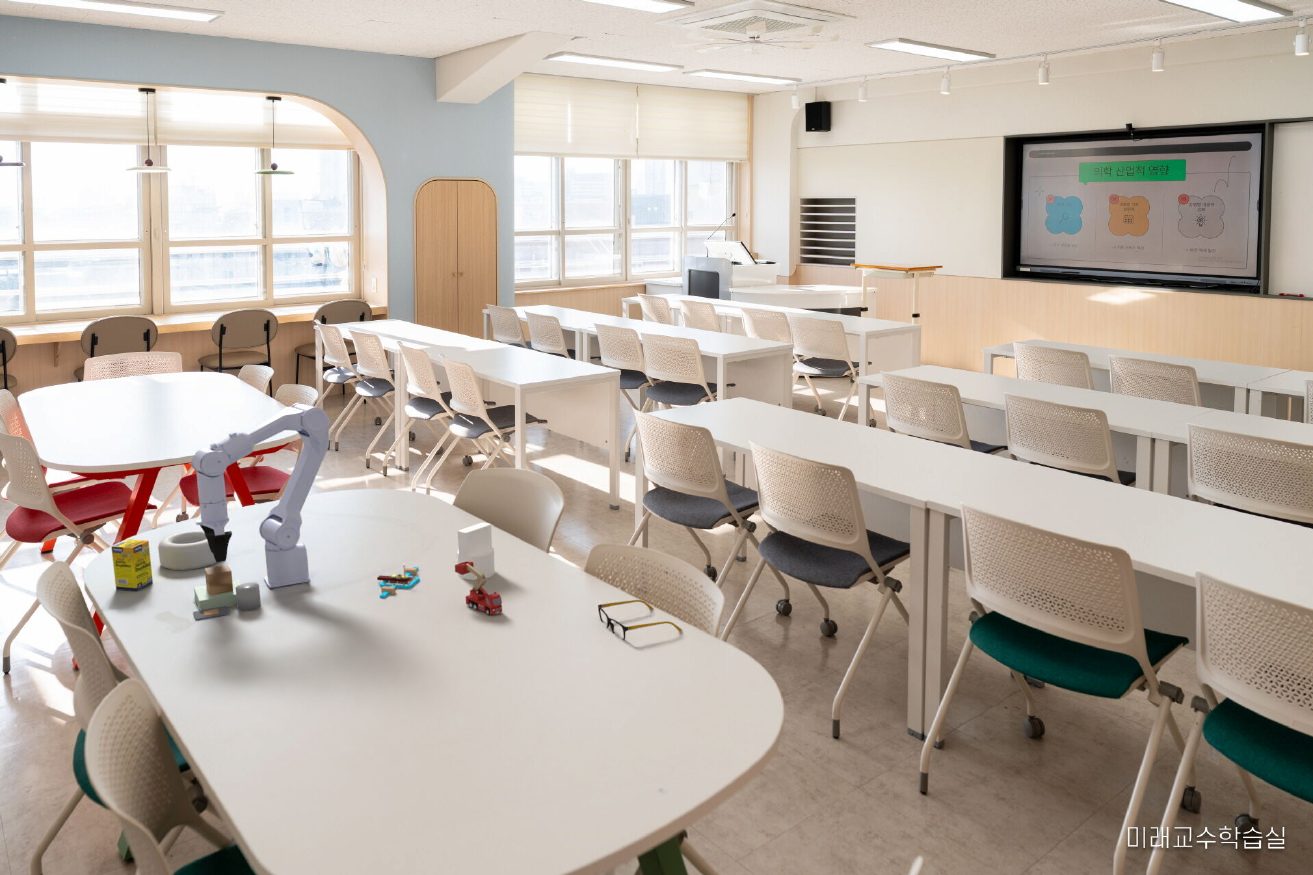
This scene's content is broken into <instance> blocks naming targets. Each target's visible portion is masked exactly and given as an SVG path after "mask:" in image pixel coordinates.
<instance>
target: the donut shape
mask: <svg viewBox="0 0 1313 875" xmlns="http://www.w3.org/2000/svg"><path fill="white" fill-rule="evenodd" d="M157 548H158V549H157V550H158V558H159V563H160V566H162V567H163V568H165V569H168V570H171V571H191V570H197V569H203V568H208V567H210V566H213V565H215V564H217V563H218V562H216V560H215V558H214V555H213V553H212V552H211V550H210V548H209V544H208V541H207V538H206V537H205V533H204V531H203V529H201V530H198V529H197V530H196V529H195V530H188V531H182V532H177V533H173V534H171V535H168V536H165V537H164V538H163V539H161V540H160V541H159V543H158V547H157Z"/></svg>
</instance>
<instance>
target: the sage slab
mask: <svg viewBox="0 0 1313 875" xmlns="http://www.w3.org/2000/svg"><path fill="white" fill-rule="evenodd" d="M232 583H233V591H232V592H226V593H221V594H215V595H210V594H209V592H208V590H207V588H206V584H205V585H200V586H194V587H193V592H194V599H195V601H196V603H197V606H198V608H199V611H201V610H207V609H212V608H218V607H224V606H227V607H231V606H237V598H236V587H237V586H238V585H241V584H242V583H241V580H240V579H237V580H232Z"/></svg>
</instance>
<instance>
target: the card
mask: <svg viewBox="0 0 1313 875" xmlns="http://www.w3.org/2000/svg"><path fill="white" fill-rule="evenodd" d="M192 613H193V617H194V619H195V621H200V620H207V619H212V618H217V617H222V616H223V617H225V616H229V615H230V612H229V609H228V606H224V607H218V608H212V609H207V610H201V611H200V610H196V611H193V612H192Z"/></svg>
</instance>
